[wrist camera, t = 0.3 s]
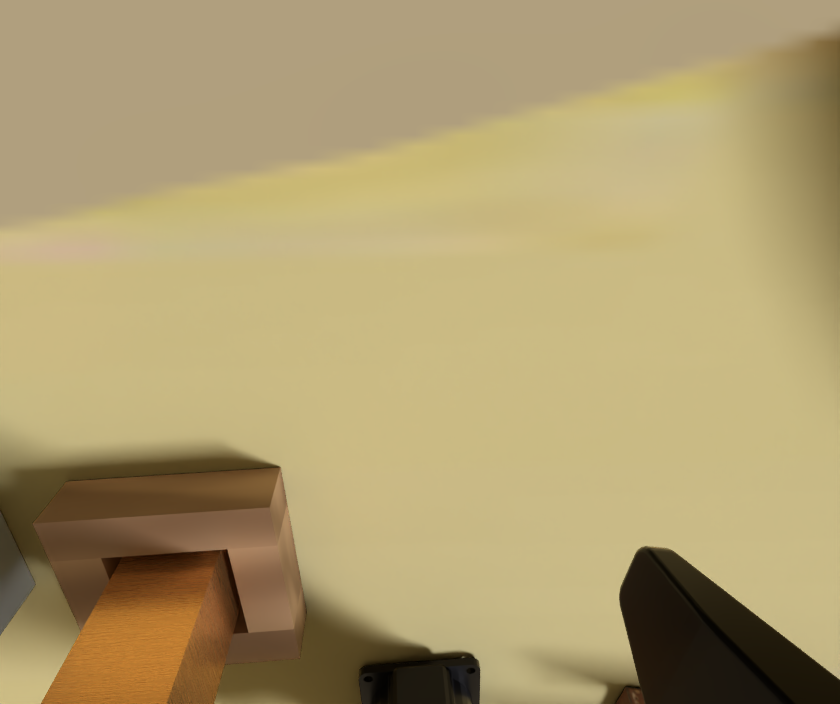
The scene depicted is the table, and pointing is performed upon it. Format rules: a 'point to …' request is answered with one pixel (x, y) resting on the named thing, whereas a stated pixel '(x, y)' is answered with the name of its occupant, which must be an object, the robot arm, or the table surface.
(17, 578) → the socket
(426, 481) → the table surface
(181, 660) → the peg
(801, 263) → the table surface
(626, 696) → the letter holder
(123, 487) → the mount
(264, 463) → the table surface
